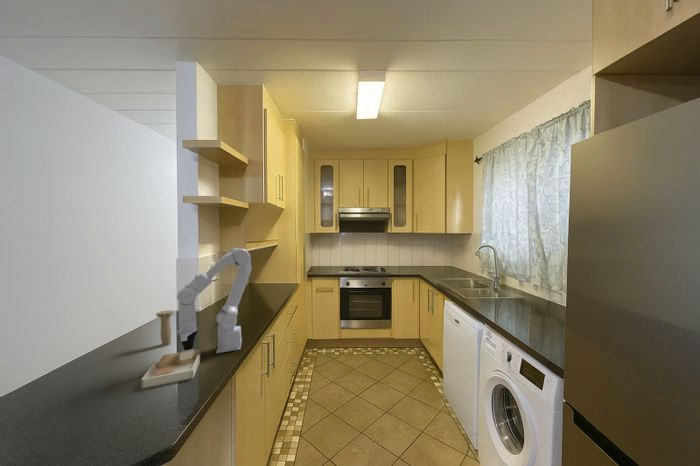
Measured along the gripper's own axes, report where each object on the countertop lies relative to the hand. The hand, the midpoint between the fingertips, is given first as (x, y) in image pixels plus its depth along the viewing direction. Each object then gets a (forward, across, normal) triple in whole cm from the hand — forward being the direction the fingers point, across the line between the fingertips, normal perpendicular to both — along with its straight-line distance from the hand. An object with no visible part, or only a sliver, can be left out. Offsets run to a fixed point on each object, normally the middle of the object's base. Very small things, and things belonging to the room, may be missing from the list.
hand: (189, 351), depth 104 cm
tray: (+3, +10, -3) cm, 11 cm away
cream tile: (+1, +3, 0) cm, 3 cm away
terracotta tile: (+1, +11, -6) cm, 12 cm away
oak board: (+3, +1, -3) cm, 4 cm away
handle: (+3, -21, -14) cm, 25 cm away
